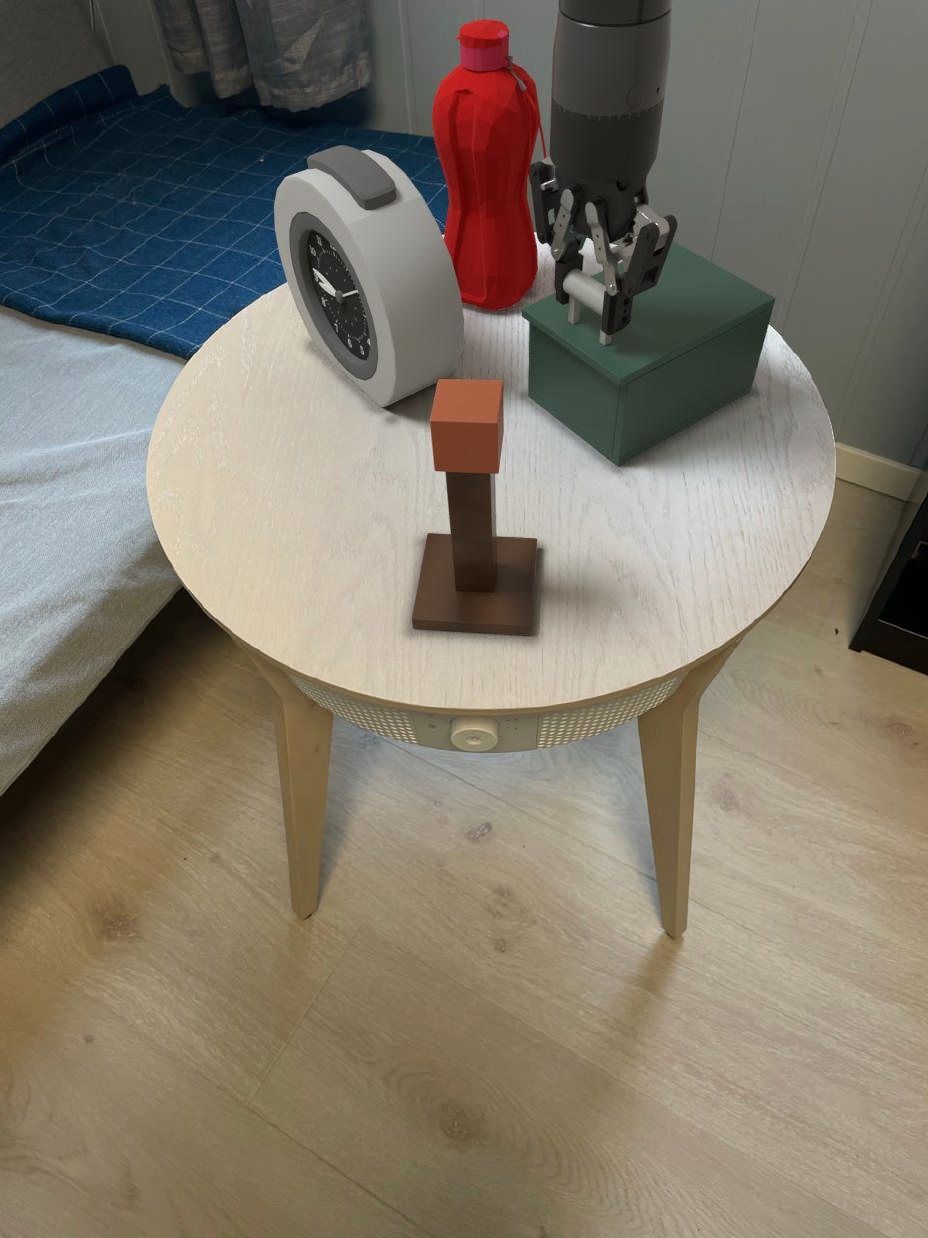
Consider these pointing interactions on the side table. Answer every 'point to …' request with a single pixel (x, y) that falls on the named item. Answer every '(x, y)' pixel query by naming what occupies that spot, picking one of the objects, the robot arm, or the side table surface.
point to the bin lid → (649, 315)
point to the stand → (475, 567)
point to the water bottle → (488, 167)
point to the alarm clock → (370, 272)
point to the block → (467, 426)
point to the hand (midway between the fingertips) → (590, 313)
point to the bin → (644, 389)
